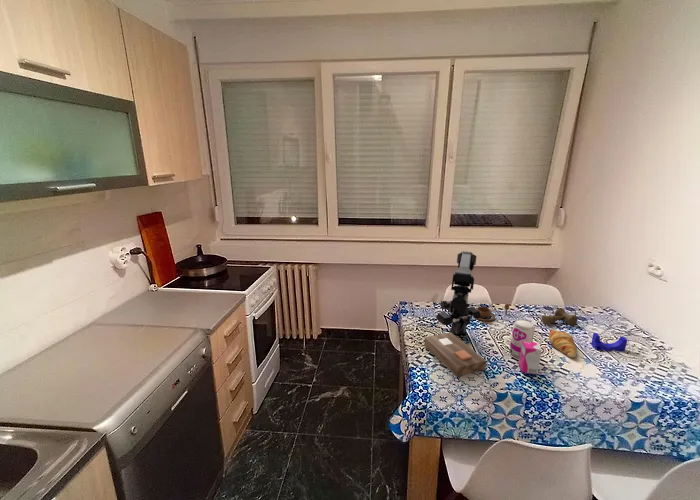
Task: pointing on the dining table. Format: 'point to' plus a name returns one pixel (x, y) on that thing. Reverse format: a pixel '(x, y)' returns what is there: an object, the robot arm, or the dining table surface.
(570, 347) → the croissant
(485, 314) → the place setting
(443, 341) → the white square block
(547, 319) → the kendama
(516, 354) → the supplement can
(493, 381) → the dining table surface
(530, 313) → the dining table surface
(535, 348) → the supplement box
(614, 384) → the dining table surface
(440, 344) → the button panel
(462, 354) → the terracotta plunger
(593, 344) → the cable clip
